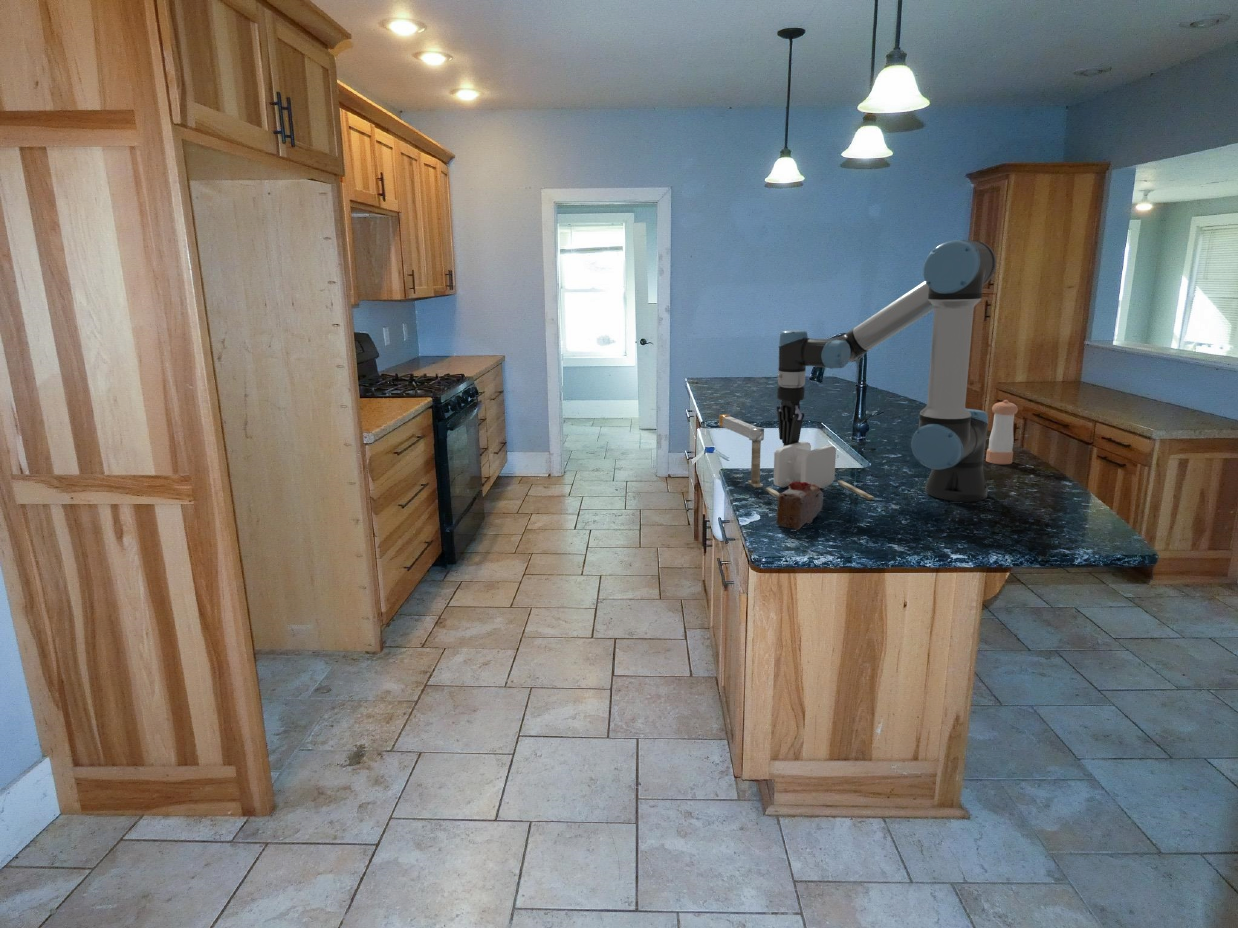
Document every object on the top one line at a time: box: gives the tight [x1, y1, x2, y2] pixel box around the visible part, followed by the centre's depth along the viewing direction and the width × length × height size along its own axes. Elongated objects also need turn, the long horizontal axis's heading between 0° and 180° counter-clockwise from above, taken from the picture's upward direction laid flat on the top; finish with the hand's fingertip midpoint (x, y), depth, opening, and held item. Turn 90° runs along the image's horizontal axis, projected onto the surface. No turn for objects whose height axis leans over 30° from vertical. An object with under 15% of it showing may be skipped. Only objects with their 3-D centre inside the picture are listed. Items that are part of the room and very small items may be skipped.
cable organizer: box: [773, 440, 837, 489], centre depth 203 cm, size 15×11×12 cm
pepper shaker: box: [985, 399, 1019, 465], centre depth 224 cm, size 7×7×19 cm
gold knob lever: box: [718, 414, 765, 442], centre depth 213 cm, size 4×24×3 cm, turn 18°
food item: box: [776, 481, 824, 531], centre depth 177 cm, size 14×8×10 cm, turn 147°
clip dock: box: [747, 440, 875, 501], centre depth 200 cm, size 24×25×13 cm
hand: (787, 465), depth 214 cm, fingers closed
